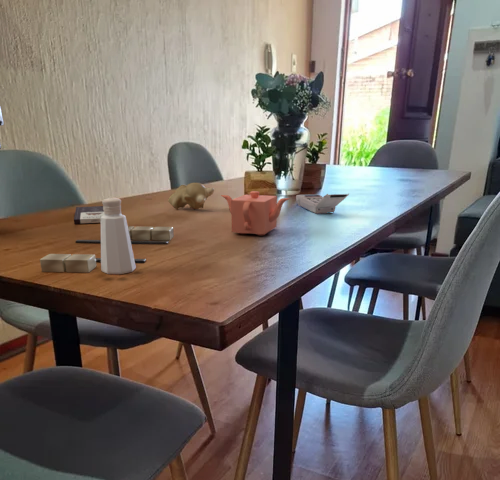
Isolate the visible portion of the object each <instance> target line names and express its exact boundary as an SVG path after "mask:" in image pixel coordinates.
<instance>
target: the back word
mask: <svg viewBox="0 0 500 480" xmlns="http://www.w3.org/2000/svg"><path fill="white" fill-rule="evenodd" d="M128 230H129V235H130V240H131V245H169V244H170V242H169V241H171V240H172V239H173V238H175V237H174V236H175V235H174V227H173V226H155V227H154V226H140V225H139V226H138V225H137V226H134V225H130V226H129V225H128ZM75 244H101V239H76V240H75Z"/></svg>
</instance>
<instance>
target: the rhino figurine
mask: <svg viewBox="0 0 500 480" xmlns="http://www.w3.org/2000/svg"><path fill="white" fill-rule="evenodd" d="M214 192H215V188H214V187H205V186H204V184H202V183H201V182H190V183H188V184H187V185H186V184H181V185H179V187H178V188H176V189H175V191H174V193H172V194H170V197H169V198H168V199H167V202H168V203H169V204H170V206H172V207H173V208H174V209H175V210H176V211H178V210H179V209H181V208H185V207H186V206H187V205H188V207H189V208H190V209H192V210H199V209H204V206H205V203H206V201H207V199H208V198H209V197H212V195H213V194H214Z"/></svg>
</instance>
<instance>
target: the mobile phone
mask: <svg viewBox="0 0 500 480" xmlns="http://www.w3.org/2000/svg"><path fill="white" fill-rule="evenodd" d="M349 195H350V193H346V194H345V193H340V194H339V193H337V194H336V193H335V194H332V193H331V194H329V193H326V194H325V195H323V196H322V195H321V194H296V196H295V203H297V206H298V207H301V208H303V209H306V210H307V211H309V212H311V213H314V214H317V215H318V214H321V215H322V214H328V213H327V212H333V213H334V212H335V210H336V207H337V206H338V205H339V204H340V203H342V202H343V201H344V200H345V199H346V198H347V197H348V196H349Z"/></svg>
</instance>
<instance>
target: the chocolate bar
mask: <svg viewBox="0 0 500 480" xmlns="http://www.w3.org/2000/svg"><path fill="white" fill-rule="evenodd" d="M103 215H104V210H103V205H93V206H76V207H75V211H74V216H73V224H74V225H77V224H78V225H79V224H98V223H100V224H101V217H102V216H103Z"/></svg>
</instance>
